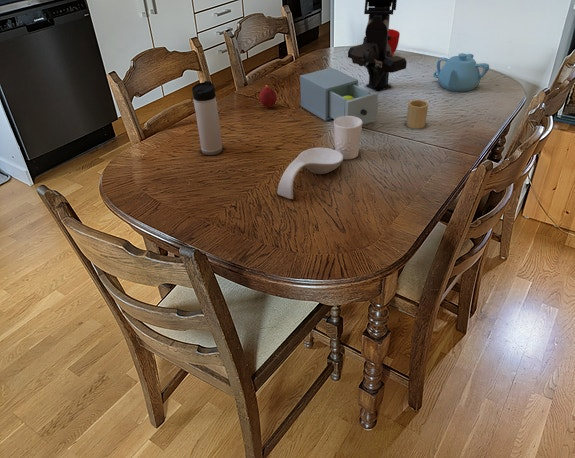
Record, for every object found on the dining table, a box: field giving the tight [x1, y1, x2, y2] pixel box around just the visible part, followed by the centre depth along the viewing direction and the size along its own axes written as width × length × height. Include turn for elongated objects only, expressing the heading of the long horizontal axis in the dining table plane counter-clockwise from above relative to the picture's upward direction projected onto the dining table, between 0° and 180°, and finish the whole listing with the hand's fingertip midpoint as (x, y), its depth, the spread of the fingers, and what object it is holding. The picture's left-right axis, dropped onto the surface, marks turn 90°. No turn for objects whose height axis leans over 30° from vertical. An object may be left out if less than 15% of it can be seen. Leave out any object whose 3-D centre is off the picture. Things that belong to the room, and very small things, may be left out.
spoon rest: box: [276, 147, 344, 200], centre depth 131 cm, size 24×12×7 cm, turn 146°
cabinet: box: [299, 66, 359, 122], centre depth 166 cm, size 15×13×11 cm
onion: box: [258, 84, 278, 109], centre depth 169 cm, size 6×6×8 cm
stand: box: [405, 99, 429, 130], centre depth 155 cm, size 6×6×7 cm
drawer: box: [328, 84, 379, 126], centre depth 157 cm, size 15×12×9 cm
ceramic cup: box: [388, 28, 401, 56], centre depth 203 cm, size 13×17×10 cm
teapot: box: [433, 52, 490, 93], centre depth 178 cm, size 15×17×11 cm
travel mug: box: [191, 80, 224, 156], centre depth 142 cm, size 6×7×20 cm
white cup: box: [333, 116, 363, 160], centre depth 140 cm, size 8×8×10 cm
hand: (374, 86), depth 149 cm, fingers closed
